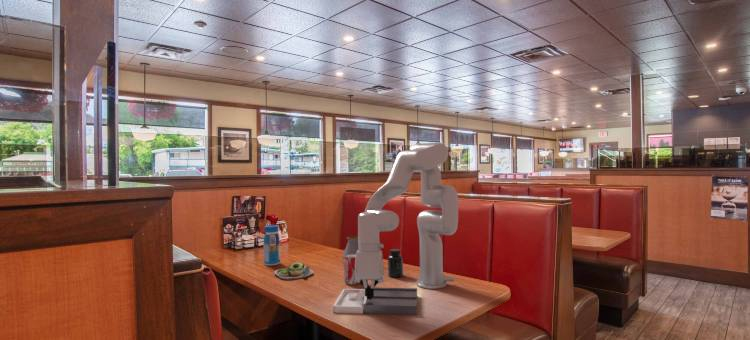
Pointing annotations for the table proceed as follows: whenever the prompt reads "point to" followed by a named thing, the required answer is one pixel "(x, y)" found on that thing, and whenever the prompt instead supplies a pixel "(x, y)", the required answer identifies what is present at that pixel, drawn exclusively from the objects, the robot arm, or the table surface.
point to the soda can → (349, 269)
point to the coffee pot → (351, 246)
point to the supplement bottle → (395, 264)
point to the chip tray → (348, 303)
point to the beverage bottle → (271, 245)
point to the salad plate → (294, 271)
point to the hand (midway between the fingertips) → (369, 298)
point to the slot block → (392, 301)
